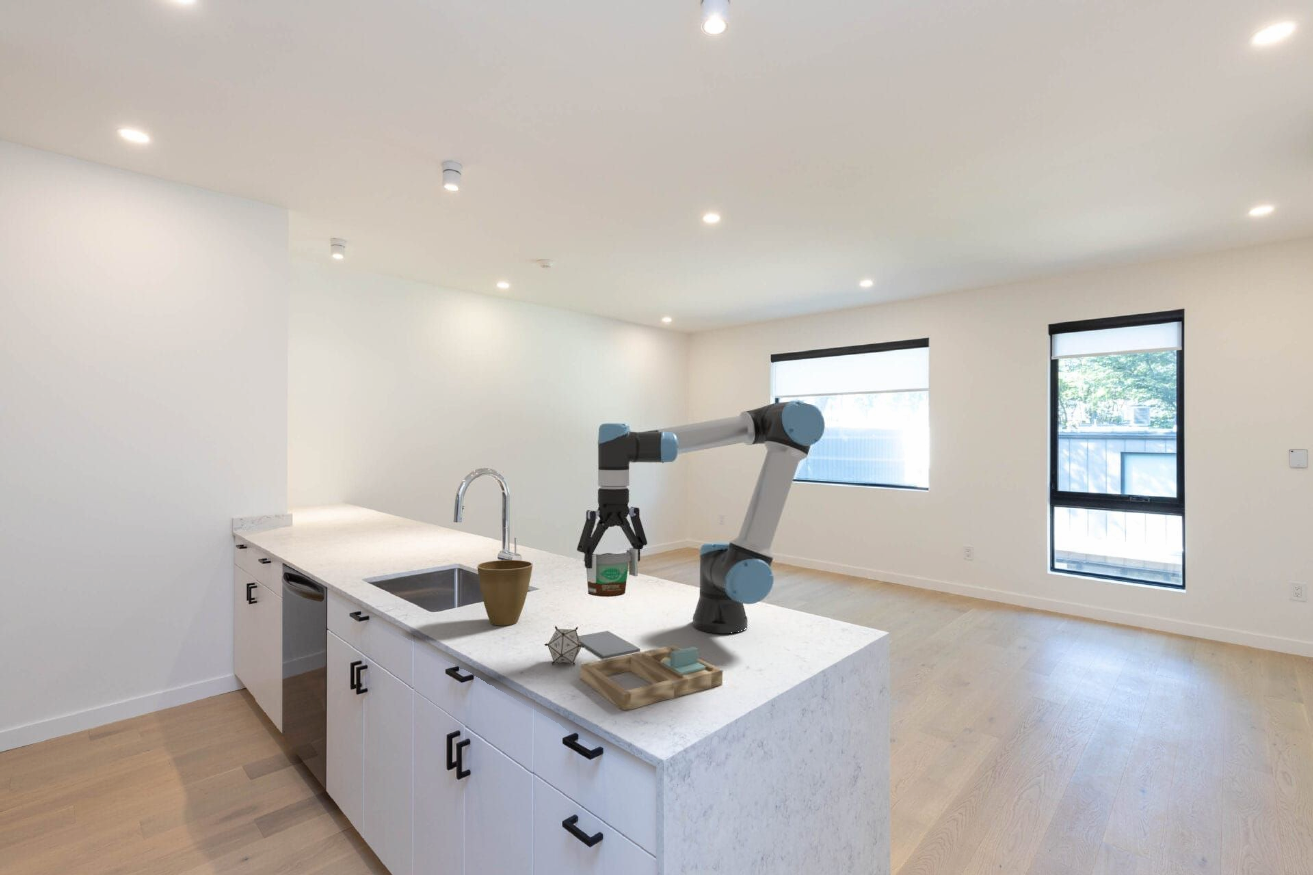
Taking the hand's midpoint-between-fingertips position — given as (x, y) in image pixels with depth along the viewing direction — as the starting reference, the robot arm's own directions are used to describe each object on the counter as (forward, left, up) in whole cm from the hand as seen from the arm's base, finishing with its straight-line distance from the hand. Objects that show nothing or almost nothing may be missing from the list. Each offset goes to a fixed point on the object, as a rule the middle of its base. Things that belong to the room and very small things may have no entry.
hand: (613, 578), depth 145 cm
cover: (-4, +23, -14) cm, 28 cm away
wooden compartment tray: (+2, +20, -18) cm, 27 cm away
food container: (0, 0, -4) cm, 4 cm away
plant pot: (+14, -36, -18) cm, 42 cm away
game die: (+13, +1, -18) cm, 22 cm away
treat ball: (-4, +17, -18) cm, 25 cm away
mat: (-1, -5, -18) cm, 18 cm away
